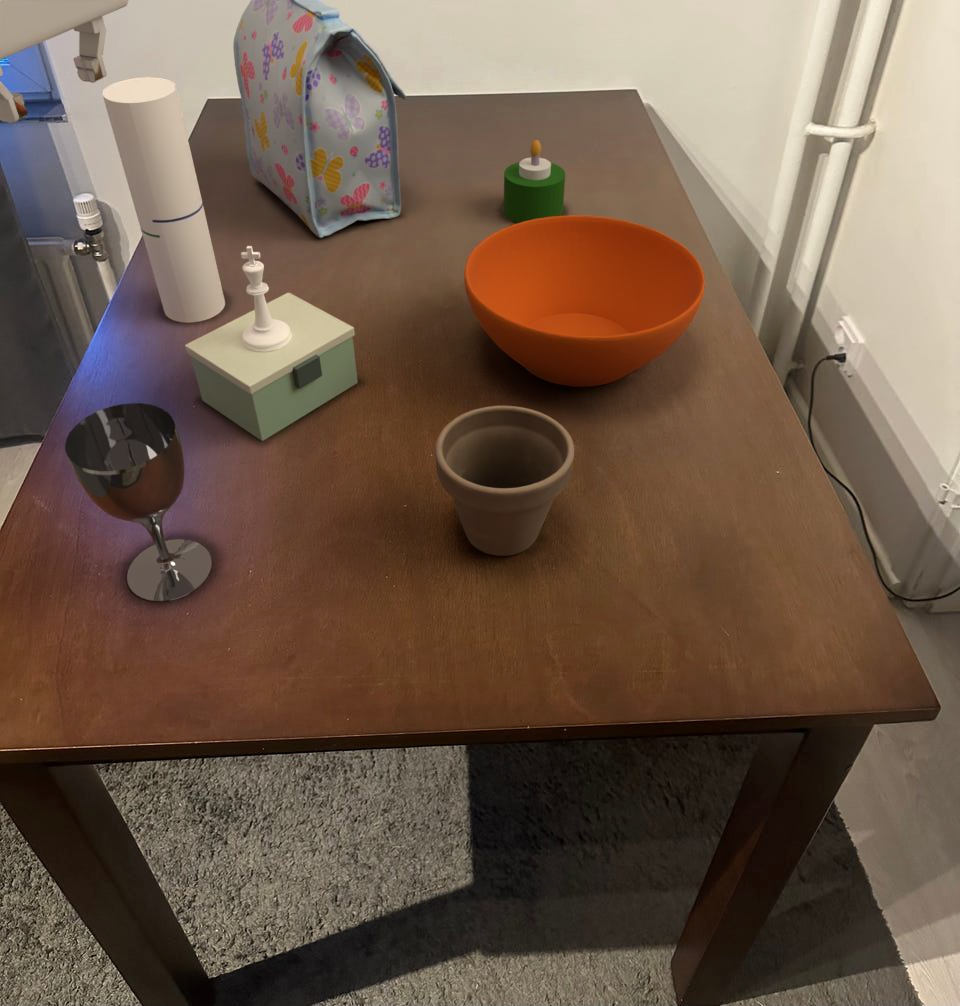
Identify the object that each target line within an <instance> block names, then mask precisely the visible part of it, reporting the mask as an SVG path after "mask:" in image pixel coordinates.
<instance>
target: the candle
mask: <svg viewBox="0 0 960 1006" xmlns="http://www.w3.org/2000/svg"><path fill="white" fill-rule="evenodd" d="M529 151H530V157H526V158H523V159H521V160H520V161H518V162H515V163H512V164H510V165H509V166H507V167H506V168H505V169H504V172H503V215H504V217H506V219H508V220H509V221H511V222H513V223H515V224H517V223H521V222H525V221H529V220H533V219H538V218H545V217H553V216H563V213H564V201H565V186H566V171H565V170H564V169H563V167H561V166H559V165H558V164H555V163H553V162H551V161H550V160H548V159H546V158H543V157H540V155H541V151H542V144H541V143H540V140H538V139H534V140H533V141H532V143H531V145H530V150H529Z"/></svg>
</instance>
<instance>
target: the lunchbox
mask: <svg viewBox="0 0 960 1006" xmlns="http://www.w3.org/2000/svg"><path fill="white" fill-rule="evenodd" d="M266 303H267V306H268V309H269V312H270V315H271V318H272V319H275V320H280V321H282V322H284V323H286V324H287V325H288V326H289V328H290V331H291V333H292V338H291V340H290V342H289V343H288V344H287V345H285V346H284V347H282V348H280V349H277V350H274V351H269V352H257V351H253V350H250V349H248V348H246V347H245V346H244V344H243V342H242V332H243V330H244V329H245V328H246V327H247V326H248V325H250V324H251V323H253V322H255V309H253V310H251V311H249V312H247V313H245V314H243V315H241V316H239V317H237V318H235V319H233V320H232V321H229V322H227V323H225V324H223V325H222V326H220V327H217V328H215V329H213V330H212V331H210V332H207V333H205V334H204V335H202V336H200V337H198V338H196V339H194V340H191V341H190V342H188V343H186V344H185V345H184V348H185V352H186V354H187V355H189V357H190V361H191V365H192V367H193V371H194V375H195V379H196V382H197V386H198V389H199V393H200V397H201V400H202V402H203V403H205V404H206V405H208V406H209V407H211V408H213V409H214V410H216V411H217V412H218V413H220V414H221V415H223V416H225V417H226V418H227V419H229V420H230V421H232V422H233V423H235V424H236V425H238V427H241V428H242V429H243V430H245V431H246V432H248V433H249V434H251V435H252V436H254V437H256V438H257V439H258V440H260V441H262V442H264V441H266V440H267V439H268V438H270V437H272V436H273V435H275V434H277V433H278V432H280V431H281V430H283V429H285V428H286V427H289V425H292V424H293V423H295V422H296V421H298V420H300V419H301V418H303V417H304V416H306V415H308V414H309V413H311V412H313V411H314V410H316V409H318V408H319V407H321V406H322V405H324V404H326V403H328V402H329V401H331V400H332V399H334V398H335V397H337V396H339V395H341V394H342V393H344V392H346V391H347V390H349V389H350V388H352V387H353V386H355V385H357V384H358V383H359V380H358V373H357V364H356V355H355V346H354V339H353V338H354V337H355V335H356V333H355V327H354V326H352V325H350V324H348V323H347V322H345V321H344V320H341V319H339V318H337V317H335V316H333V315H331V314H330V313H328V312H326V311H324V310H322V309H320V308H319V307H317V306H315V305H313V304H311V303H310V302H308V301H305V300H304V299H302V298H300V297H298V296H296V295H295V294H293V293H291V292H286V293H284V294H282V295H280V296H279V297H277V298H274V299H272V300H270V301H268V302H266Z"/></svg>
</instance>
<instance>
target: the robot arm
mask: <svg viewBox="0 0 960 1006" xmlns="http://www.w3.org/2000/svg"><path fill="white" fill-rule="evenodd" d="M128 3H129V0H0V61H1V60H4V59H6V58H8V57H11V56H13V55H15V54H18V53H21V52H23V51H25V50H27V49H29V48H32V47H34V46H37V45H38V44H41V43H43V42H46V41H48V40H51V39H53V38H55V37H58V36H60V35H62V34H64V33H67V32H69V31H71V30H73V31H75V32H78V33H79V34H78V35H79V37H78V38H79V40H78V42H79V43H78V55H77V56H75V57H74V58H72V60H73V62H74V66H75V68H76V69H77V72H76V73H77V76H78V78H79V79H80V80H81V81H82V82H89V83H92V84H94V83H96V82H98V81H100V80H103V79H105V78H106V77H107V70H106V65H105V63H104V59H103V55H104V50H105V49H104V48H105V39H106V32H107V29H106V25H105V21H104V17H105V16H106V15H109V14H111V13H115V11H118V10H121V9H124V8H125V7H126V6H128ZM3 71H4V70H3V69H2V66H1V65H0V77H3V76H4V72H3ZM28 114H29V112H28V108H27V107H25V99H24V98H23V95H22V93H19V92H12V91H10V90H9V89H8V88H7V86H6V85H4V83H3V82H2V81H1V80H0V121H1V122H3V123H9V124H15V123H16V122H18V121H20V120H22V119H24V118H26V117H28Z"/></svg>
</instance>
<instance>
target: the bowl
mask: <svg viewBox="0 0 960 1006" xmlns="http://www.w3.org/2000/svg"><path fill="white" fill-rule="evenodd" d="M463 276H464V277H463V279H464V280H463V282H464V287H465V292H466V296H467V299H468V302H469V304H470V307H471V309H472V311H473V313H474V316H475V317H476V319H477V321H478V323H479V324H480V325H481V327H482V329H483V331H485V333H486V334H487V336H488V337H489V338H490V339H491V340H492V341H493V343H495V344H496V345H497V346H498V347H499V349H500V350H501V351H503V352H504V353H505V355H508V357H510V358H511V359H512V360H514V361H515V362H516V363H518V364H519V365H521V366H522V367H524V369H526V371H528V372H529V373H530V374H531V375H534V376H535V377H537V378H539V379H541V380H544V381H547V382H550V383H553V384H556V385H559V386H560V385H561V386H567V387H577V388H585V387H586V388H589V387H597V386H602V385H607V384H610V383H613V382H615V381H618V380H620V379H622V378H624V377H625V376H628V374H630V373H632V372H634V371H636V370H638V369H640V368H643V367H644V366H646V365H647V364H649V363H650V362H652V361H654V360H656V358H658V357H659V356H661V355H662V354H663V353H664V352H665V351H667V350H668V349H669V348H670V347H671V346H672V345H674V343H675V342H676V341H678V340H679V339H680V338H681V336H682V335H683V334H684V332H685V331H686V330H687V329H688V328H689V326H690V324H691V323H692V321H693V320H694V318H695V316H696V314H697V312H698V310H699V308H700V306H701V305H702V301H703V298H704V294H705V289H706V279H705V273H704V271H703V268H702V266H701V264H700V262H699V260H698V259H697V258H696V257H695V255H693V253H691V251H689V249H688V248H687V247H685V245H683V244H682V243H680V242H679V241H677V240H675V239H674V238H672V237H670V236H669V235H666V234H665V233H663V232H661V231H658V230H656V229H653V228H651V227H648V226H646V225H643V224H640V223H639V224H638V223H635V222H632V221H628V220H624V219H617V218H613V217H607V216H597V215H596V216H595V215H583V214H582V215H579V214H578V215H572V214H571V215H562V216H553V217H545V218H538V219H533V220H529V221H525V222H521V223H515V224H511V225H509V226H507V227H504V228H501V229H499V230H498V231H495V232H493V233H491V234H490V235H488V236H487V237H485V238H484V239H483V240H482V241H480V242H479V243H478V244H477V245H476V246H475V248H473V250H472V251H471V252H470V253H469V256H468V258H467V260H466V263H465V267H464V271H463Z"/></svg>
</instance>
